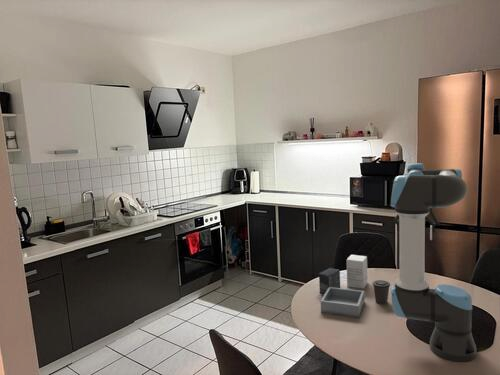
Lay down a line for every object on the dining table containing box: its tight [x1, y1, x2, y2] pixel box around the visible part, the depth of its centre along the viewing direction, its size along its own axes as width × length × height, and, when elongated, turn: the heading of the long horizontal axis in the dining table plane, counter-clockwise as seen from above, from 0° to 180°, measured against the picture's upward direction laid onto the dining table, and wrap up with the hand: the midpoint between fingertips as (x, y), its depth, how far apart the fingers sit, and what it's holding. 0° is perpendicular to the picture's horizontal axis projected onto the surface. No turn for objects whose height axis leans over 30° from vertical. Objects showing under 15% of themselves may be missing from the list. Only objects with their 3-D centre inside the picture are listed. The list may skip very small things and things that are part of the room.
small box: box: [318, 267, 341, 295], centre depth 197 cm, size 11×6×10 cm, turn 135°
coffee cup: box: [372, 279, 391, 305], centre depth 181 cm, size 8×8×10 cm
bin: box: [320, 287, 365, 319], centre depth 178 cm, size 17×17×6 cm
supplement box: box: [346, 254, 369, 289], centre depth 203 cm, size 9×9×15 cm
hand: (415, 238), depth 186 cm, fingers open, 13 cm apart
